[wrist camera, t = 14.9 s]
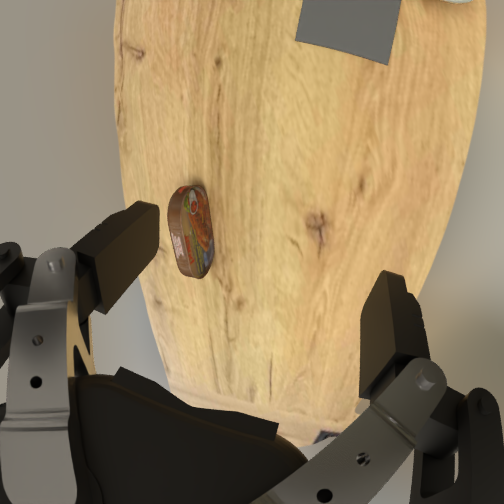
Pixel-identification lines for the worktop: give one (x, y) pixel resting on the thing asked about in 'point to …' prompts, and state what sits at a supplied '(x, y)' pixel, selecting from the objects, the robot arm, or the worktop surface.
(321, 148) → the worktop surface
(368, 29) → the mat
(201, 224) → the tin
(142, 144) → the worktop surface
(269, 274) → the worktop surface
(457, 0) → the peg on round base
